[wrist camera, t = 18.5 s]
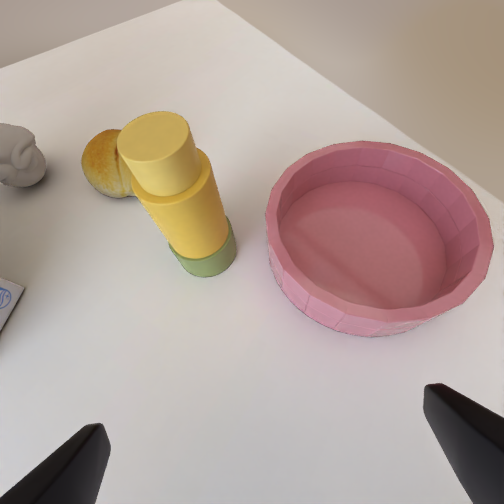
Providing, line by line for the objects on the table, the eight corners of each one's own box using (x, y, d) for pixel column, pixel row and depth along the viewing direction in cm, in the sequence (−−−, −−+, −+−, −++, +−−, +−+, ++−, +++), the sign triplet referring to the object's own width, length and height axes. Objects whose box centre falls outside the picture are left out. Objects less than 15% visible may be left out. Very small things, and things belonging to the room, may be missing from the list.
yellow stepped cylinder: (204, 289, 22) (137, 191, 12) (168, 251, 24) (83, 139, 14) (248, 249, 24) (224, 130, 13) (211, 217, 26) (164, 90, 15)
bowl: (320, 371, 19) (332, 364, 15) (243, 213, 25) (236, 179, 22) (497, 288, 20) (550, 262, 16) (380, 160, 27) (397, 119, 23)
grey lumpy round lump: (-3, 174, 31) (-73, 119, 25) (59, 150, 32) (7, 91, 26) (0, 213, 28) (-78, 161, 22) (68, 185, 29) (11, 128, 23)
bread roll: (104, 146, 32) (82, 114, 28) (180, 142, 31) (168, 108, 27) (81, 204, 28) (53, 175, 24) (168, 200, 27) (152, 171, 23)
